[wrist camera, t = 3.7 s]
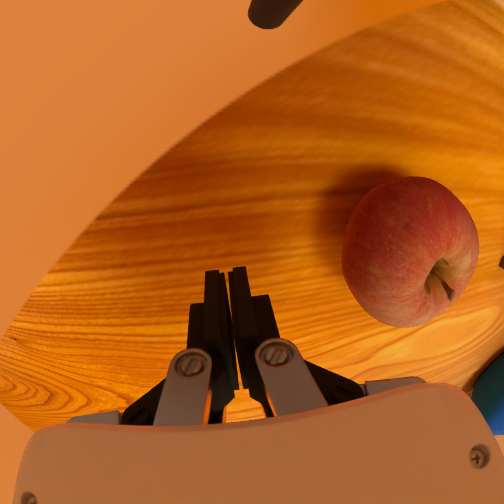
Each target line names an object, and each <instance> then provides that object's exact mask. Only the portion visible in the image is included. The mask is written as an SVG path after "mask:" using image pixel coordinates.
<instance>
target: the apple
mask: <svg viewBox="0 0 504 504" xmlns="http://www.w3.org/2000/svg"><path fill="white" fill-rule="evenodd" d="M478 254H479V241H478V234H477V230H476V227H475V224H474V222H473V220H472V218H471V216H470V214H469V212H468V211H467V209H466V208H465V207H464V205H463V204H462V203H461V202H460V201H459V199H458V198H457V197H456V196H455V195H454V194H453V193H452V192H451V191H450V190H448V189H447V188H446V187H444V186H443V185H441V184H440V183H438V182H436V181H434V180H432V179H429V178H425V177H406V178H401V179H397V180H393V181H389V182H385V183H382V184H379V185H377V186H375V187H374V188H372V189H371V190H370V191H369V192H367V193H366V194H365V195H364V196H363V197H362V198H361V200H360V201H359V202H358V204H357V205H356V207H355V209H354V210H353V212H352V214H351V216H350V219H349V221H348V224H347V227H346V230H345V234H344V240H343V247H342V270H343V275H344V278H345V280H346V283H347V285H348V287H349V289H350V290H351V292H352V294H353V296H354V297H355V299H356V300H357V301H358V303H359V304H360V305H361V307H362V308H363V309H364V310H365V311H366V312H367V313H368V314H370V315H371V316H372V317H374V318H375V319H377V320H378V321H380V322H382V323H384V324H387V325H390V326H394V327H415V326H420V325H423V324H425V323H428V322H429V321H431V320H433V319H434V318H436V317H437V316H439V315H441V314H442V313H443V312H445V311H446V310H447V309H448V308H449V307H450V306H451V305H452V304H453V303H454V302H455V301H456V300H457V298H458V297H459V296H460V295H461V293H462V292H463V290H464V289H465V287H466V285H467V283H468V282H469V280H470V278H471V276H472V274H473V271H474V269H475V266H476V263H477V259H478Z"/></svg>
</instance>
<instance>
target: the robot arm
mask: <svg viewBox="0 0 504 504" xmlns="http://www.w3.org/2000/svg"><path fill="white" fill-rule="evenodd" d="M228 278H229V290H230V302H231V312H230V306H229V300H228V294H227V288H226V282H225V275H224V272H223V273H219V270H211V271H205V292H204V303H195V304H191V305H190V313H189V325H188V338H187V349H185V350H182V351H180V352H179V353H177V354H176V355H175V356H174V357H173V359H172V361H171V363H170V366H169V369H168V373H167V376H166V378H165V379H164V380H163V381H161V382H160V383H159V384H158V385H156V386H155V387H154V388H152V389H151V390H150V391H149V392H147V393H146V394H145V395H143V396H142V397H141V398H140V399H138V400H137V401H136V402H134V403H133V404H132V405H130V406H129V407H128V408H127V409H126V410H125V411H124V412H121V413H120V412H119V411H118V410H117V411H111V412H105V413H98V414H91V415H83V416H76V417H73V418H71V419H70V420H69V421H68V422H67V423H64V424H57V425H53V426H49V427H46V428H43V429H41V430H39V431H37V432H36V433H35V434H34V435H33V436H32V437H31V439H30V440H29V442H28V444H27V446H26V449H25V451H24V454H23V456H22V460H21V463H20V467H19V471H18V475H17V480H16V485H15V491H14V499H13V504H504V456H503V454H502V451H501V449H500V447H499V445H498V443H497V441H496V439H495V437H494V435H493V433H492V431H491V429H490V427H489V426H488V424H487V422H486V421H485V419H484V417H483V416H482V414H481V412H480V411H479V409H478V408H477V407H476V405H475V404H474V403H473V401H472V400H471V399H470V397H469V396H468V395H467V394H466V393H465V392H464V391H463V390H461V389H460V388H458V387H457V386H454V385H451V384H446V383H426V382H425V381H424V380H423V379H421V378H419V377H403V378H395V379H385V380H375V381H365V384H357V383H356V382H354V381H352V380H350V379H347V378H345V377H343V376H340V375H338V374H335V373H333V372H331V371H328V370H326V369H324V368H322V367H319V366H317V365H315V364H312V363H310V362H308V361H306V360H304V359H303V358H302V356H301V354H300V352H299V351H298V349H297V347H296V346H295V345H294V343H292V342H291V341H289V340H286V339H283V338H280V335H279V332H278V328H277V324H276V320H275V317H274V313H273V309H272V306H271V302H270V298H269V295H268V294H267V295H259V296H252V297H251V293H250V287H249V282H248V276H247V271H246V266H243V267H235V268H233V271H231V272H228ZM231 313H232V318H231ZM234 341H235V344H234ZM235 347H236V352H237V358H238V363H239V368H240V373H241V379H242V384H243V389H248V388H249V393H250V397H251V398H253V399H254V400H256V401H258V402H260V404H261V408H262V411H263V414H264V416H265V418H264V419H257V420H249V421H240V422H231V423H225V421H226V405H227V404H228V403H229V402H230V401H231V400H232V399H233V398H235V395H234V390H239V382H238V373H237V363H236V354H235Z"/></svg>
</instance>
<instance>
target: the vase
mask: <svg viewBox="0 0 504 504" xmlns="http://www.w3.org/2000/svg"><path fill="white" fill-rule="evenodd" d="M471 400H472V401H473V403H474V404H475V405H476V407H477V408H478V409H479V411H480V412H481V414H482V416H483V417H484V419H485V421H486V422H487V424H488V426H489V427H490V429H491V431H492V433H493V435H504V353H503V354H502V355H500V356H499V357H498V358H497V359H496V360H495V361H494V362H493V363H492V364H491V365H490V366H489V367H488V368H487V369H486V370H485V371H484V372H483V374H482V375H481V376H480V378H479V379H478V381H477V382H476V384H475V386H474V389H473V393H472V397H471Z"/></svg>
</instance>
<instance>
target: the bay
mask: <svg viewBox="0 0 504 504" xmlns="http://www.w3.org/2000/svg"><path fill="white" fill-rule="evenodd" d="M500 267H501V268H503V269H504V256H503V258H502V261H501V264H500Z"/></svg>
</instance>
